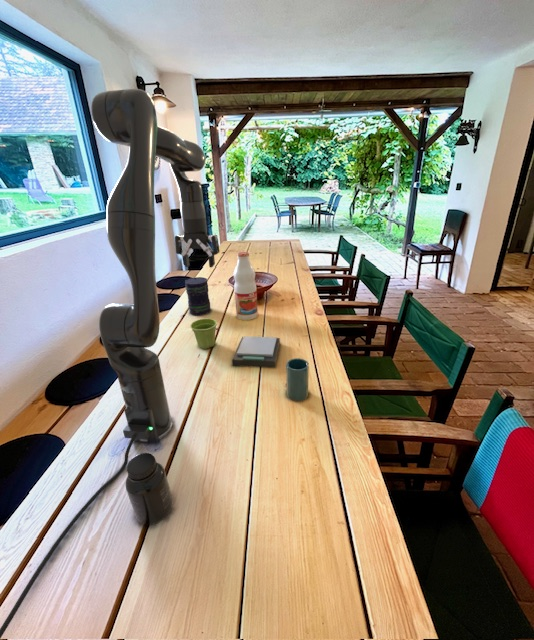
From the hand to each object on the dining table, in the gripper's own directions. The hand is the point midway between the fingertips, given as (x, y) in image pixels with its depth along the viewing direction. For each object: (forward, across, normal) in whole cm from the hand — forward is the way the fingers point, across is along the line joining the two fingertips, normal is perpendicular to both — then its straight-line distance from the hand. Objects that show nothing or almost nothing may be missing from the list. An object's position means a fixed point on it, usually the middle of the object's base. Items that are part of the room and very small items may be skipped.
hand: (199, 266), depth 108 cm
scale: (+29, +20, -6) cm, 36 cm away
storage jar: (+29, -14, +29) cm, 44 cm away
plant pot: (+29, 0, -2) cm, 29 cm away
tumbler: (+29, +35, -27) cm, 53 cm away
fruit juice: (+29, +9, +26) cm, 40 cm away
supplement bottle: (+30, +11, -64) cm, 72 cm away
